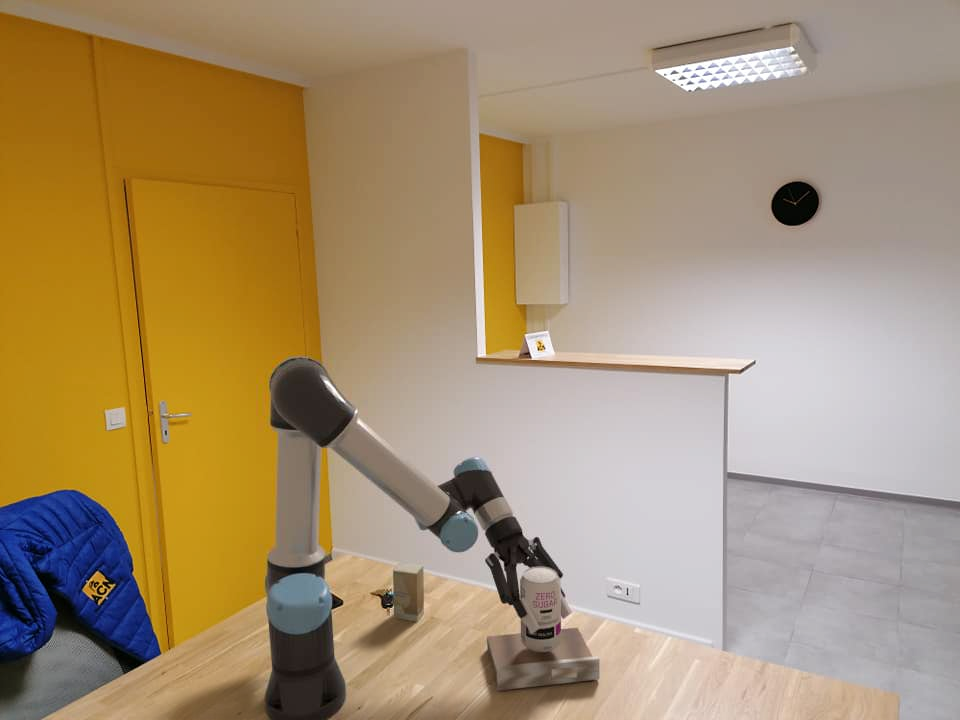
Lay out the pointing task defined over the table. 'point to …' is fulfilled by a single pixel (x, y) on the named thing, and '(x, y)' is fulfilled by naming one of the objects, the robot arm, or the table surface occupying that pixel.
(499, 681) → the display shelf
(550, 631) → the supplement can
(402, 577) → the skincare box
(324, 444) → the robot arm
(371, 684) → the table surface
